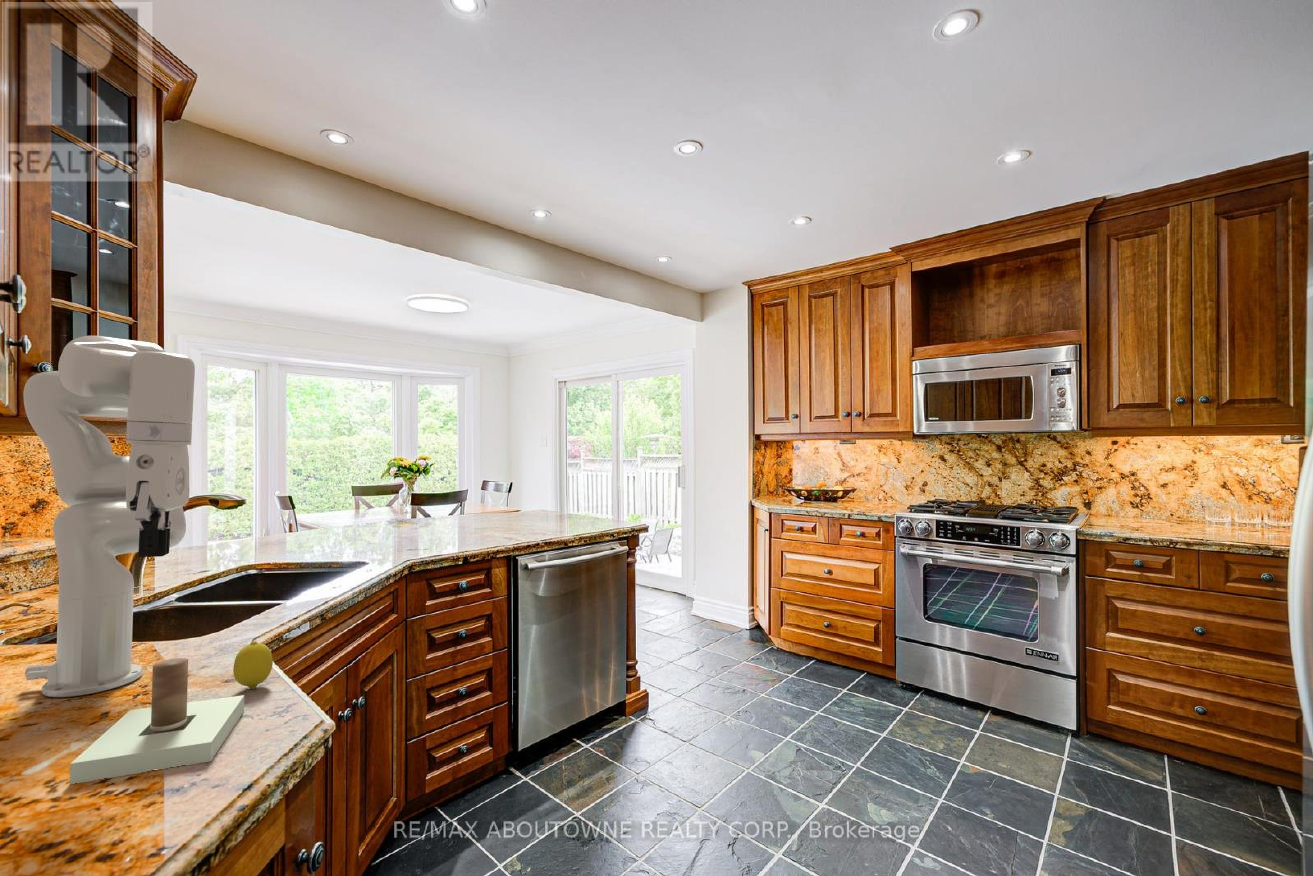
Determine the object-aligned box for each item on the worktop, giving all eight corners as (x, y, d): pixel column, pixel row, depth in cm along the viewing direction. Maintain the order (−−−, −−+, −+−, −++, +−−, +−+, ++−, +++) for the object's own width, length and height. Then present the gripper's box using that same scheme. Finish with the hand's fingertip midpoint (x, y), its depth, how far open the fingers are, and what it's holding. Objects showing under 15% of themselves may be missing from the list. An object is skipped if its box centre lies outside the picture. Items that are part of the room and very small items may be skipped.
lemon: (237, 685, 100) (238, 638, 101) (275, 680, 103) (276, 635, 103) (228, 697, 95) (229, 648, 96) (268, 692, 98) (269, 644, 98)
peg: (144, 752, 78) (147, 669, 78) (156, 739, 81) (158, 660, 82) (180, 747, 79) (182, 665, 80) (190, 734, 83) (192, 656, 83)
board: (69, 784, 70) (70, 763, 70) (129, 727, 85) (130, 710, 85) (210, 761, 75) (211, 742, 76) (243, 711, 90) (244, 695, 90)
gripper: (171, 436, 82) (164, 565, 82) (206, 435, 96) (201, 545, 96) (103, 433, 79) (96, 567, 79) (149, 433, 93) (144, 547, 93)
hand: (153, 555), depth 88 cm, fingers closed
